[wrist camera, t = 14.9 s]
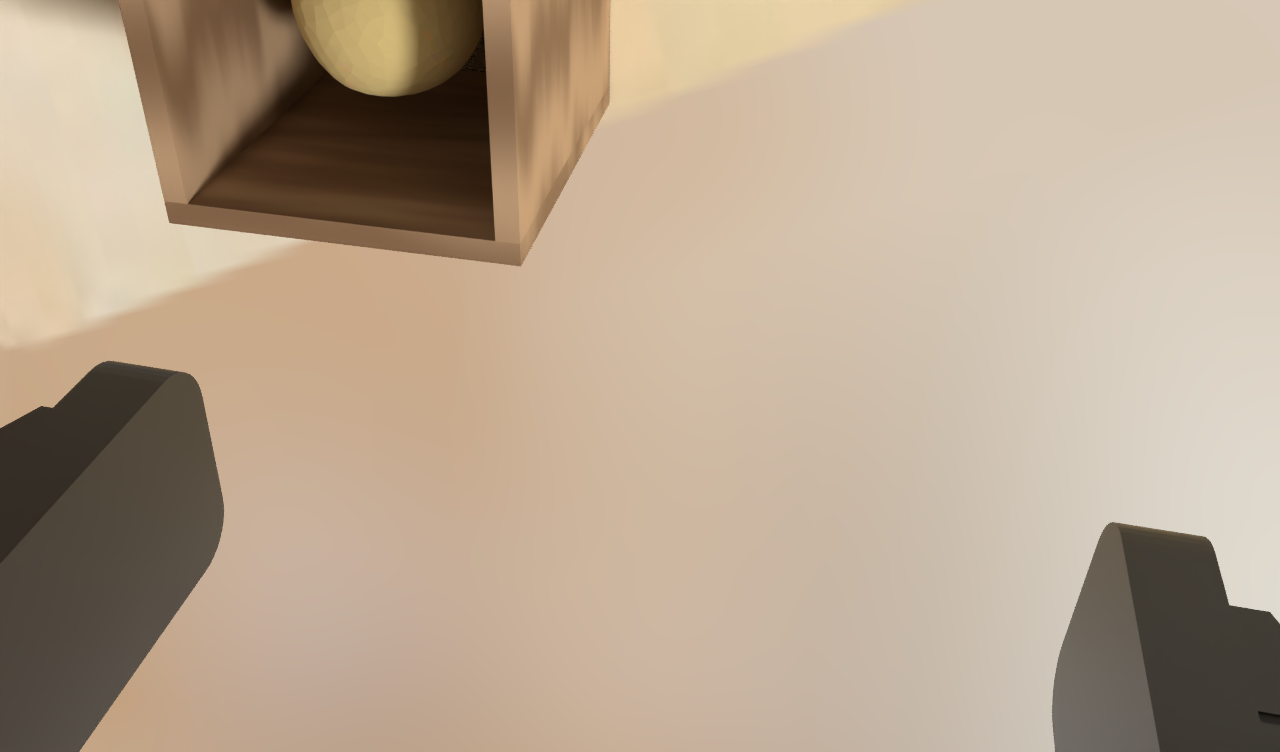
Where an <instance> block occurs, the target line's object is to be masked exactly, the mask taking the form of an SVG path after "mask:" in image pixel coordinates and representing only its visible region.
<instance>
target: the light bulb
mask: <svg viewBox="0 0 1280 752" xmlns="http://www.w3.org/2000/svg"><path fill="white" fill-rule="evenodd" d="M291 3H292V9H293V13H294V16H295V19H296V22H297V26H298V28H299V30H300V33H301V35H302V37H303V39H304V41H305V42H306V44H307V45H308V47H309V49H310V50H311V52H312V53H313V55H314V56H315V58H316V59H317V61H318V62H319V63H320V64H321V65H322V66H323V67H324V68H325V69H326V70H327V71H328V72H329V73H330V75H331V76H332V77H333V78H335V79H336V80H337V81H339V82H340V83H342V84H343V85H344V86H346V87H348V88H350V89H353V90H356V91H359V92H362V93H365V94H369V95H376V96H390V97H398V96H406V95H413V94H417V93H420V92H423V91H427V90H430V89H432V88H434V87H436V86H438V85H440V84H442V83H444V82H445V81H447V80H448V79H449V78H451V77H452V76H453V75H454V74H456V73H457V72H458V71H459V70H460V69H461V68H462V67H463V66H464V65H465V64H466V63H467V62H468V60H469V59H470V57H471V55H472V54H473V52H474V51H475V49H476V47H477V45H478V43H479V41H480V38H481V36H482V33H483V28H484V21H483V2H482V0H291Z"/></svg>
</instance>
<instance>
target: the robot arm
mask: <svg viewBox="0 0 1280 752" xmlns="http://www.w3.org/2000/svg"><path fill="white" fill-rule="evenodd" d="M223 518H224V504H223V497H222V492H221V487H220V482H219V477H218V472H217V467H216V462H215V457H214V452H213V447H212V442H211V437H210V432H209V428H208V422H207V418H206V413H205V407H204V403H203V397H202V393H201V390H200V387H199V385H198V383H197V381H196V380H195V379H194V377H192V376H191V375H190V374H187V373H184V372H178V371H172V370H165V369H159V368H153V367H147V366H140V365H134V364H128V363H121V362H114V361H106V362H102V363H101V364H99V365H97V366H95V367H94V368H93V369H92V370H91V371H90V372H89V373H88V374H87V375H86V376H85V377H84V378H83V379H82V380H81V381H80V382H79V383H78V384H77V385H76V386H75V387H74V388H73V389H72V390H71V391H69V393H67V395H66V396H64V398H63V399H62V400H60V401H59V402H58V404H56V405H55V407H53V408H50V407H43V406H41V407H39V408H37V409H35V410H33V411H32V412H30V413H28V414H26V415H24V416H22V417H20V418H19V419H17V420H15V421H13V422H11V423H9V424H8V425H6V426H4V427H2V428H0V752H79V751H80V749H81V748H82V747H83V745H84V744H85V742H86V741H87V740H88V738H89V737H90V735H91V734H92V732H93V731H94V730H95V728H96V727H97V725H98V724H99V722H100V721H101V720H102V718H103V717H104V715H105V714H106V713H107V711H108V710H109V708H110V707H111V705H112V704H113V702H114V701H115V700H116V698H117V697H118V695H119V694H120V693H121V691H122V690H123V688H124V687H125V685H126V684H127V682H128V681H129V680H130V678H131V677H132V675H133V674H134V673H135V671H136V670H137V668H138V667H139V665H140V664H141V663H142V661H143V660H144V658H145V657H146V655H147V654H148V653H149V651H150V650H151V648H152V647H153V645H154V644H155V643H156V641H157V640H158V638H159V637H160V635H161V634H162V633H163V631H164V630H165V628H166V627H167V625H168V624H169V623H170V621H171V620H172V618H173V617H174V615H175V614H176V613H177V611H178V610H179V608H180V607H181V605H182V604H183V603H184V601H185V600H186V598H187V597H188V595H189V594H190V593H191V591H192V590H193V588H194V587H195V586H196V584H197V583H198V581H199V580H200V578H201V577H202V576H203V574H204V573H205V571H206V570H207V568H208V567H209V565H210V563H211V561H212V559H213V557H214V555H215V552H216V550H217V547H218V544H219V541H220V537H221V532H222V527H223ZM1052 720H1053V733H1054V742H1055V752H1280V624H1279V623H1278V621H1277V620H1276V619H1275V618H1274V617H1273V615H1272V614H1271V613H1270V612H1266V611H1260V610H1254V609H1248V608H1242V607H1236V606H1230V605H1229V603H1228V599H1227V595H1226V592H1225V588H1224V584H1223V580H1222V577H1221V573H1220V570H1219V566H1218V562H1217V558H1216V554H1215V551H1214V548H1213V546H1212V544H1211V542H1210V541H1209V540H1208V539H1207V538H1206V537H1202V536H1196V535H1190V534H1184V533H1177V532H1171V531H1165V530H1159V529H1152V528H1145V527H1140V526H1133V525H1127V524H1121V523H1114V522H1112V523H1109V524H1108V525H1107V526H1106V527H1105V529H1104V530H1103V532H1102V534H1101V536H1100V539H1099V541H1098V544H1097V547H1096V550H1095V553H1094V555H1093V558H1092V561H1091V564H1090V567H1089V570H1088V573H1087V575H1086V578H1085V581H1084V584H1083V587H1082V590H1081V593H1080V596H1079V599H1078V601H1077V604H1076V607H1075V610H1074V613H1073V615H1072V618H1071V621H1070V624H1069V627H1068V630H1067V633H1066V636H1065V639H1064V641H1063V644H1062V647H1061V651H1060V654H1059V658H1058V663H1057V668H1056V674H1055V680H1054V689H1053V706H1052Z"/></svg>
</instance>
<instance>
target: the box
mask: <svg viewBox="0 0 1280 752" xmlns="http://www.w3.org/2000/svg"><path fill="white" fill-rule="evenodd" d="M118 1H119V5H120V9H121V14H122V18H123V22H124V27H125V31H126V36H127V40H128V44H129V49H130V53H131V57H132V62H133V66H134V70H135V75H136V79H137V84H138V88H139V92H140V97H141V101H142V105H143V110H144V114H145V118H146V123H147V127H148V131H149V136H150V140H151V145H152V149H153V153H154V158H155V162H156V166H157V171H158V175H159V179H160V184H161V188H162V193H163V197H164V201H165V206H166V210H167V214H168V219H169V223H174V224H182V225H190V226H198V227H206V228H214V229H223V230H231V231H239V232H247V233H255V234H263V235H271V236H279V237H287V238H296V239H304V240H312V241H320V242H328V243H336V244H344V245H352V246H361V247H369V248H377V249H385V250H393V251H401V252H409V253H417V254H425V255H434V256H442V257H450V258H458V259H467V260H475V261H482V262H490V263H499V264H507V265H515V266H521V265H522V263H523V261H524V260H525V258H526V256H527V254H528V252H529V250H530V249H531V247H532V245H533V243H534V241H535V239H536V238H537V236H538V234H539V232H540V230H541V228H542V226H543V224H544V223H545V221H546V219H547V217H548V215H549V214H550V212H551V210H552V208H553V206H554V204H555V203H556V201H557V199H558V197H559V195H560V193H561V192H562V190H563V188H564V186H565V184H566V182H567V180H568V179H569V177H570V175H571V173H572V171H573V169H574V168H575V166H576V164H577V162H578V160H579V158H580V157H581V155H582V153H583V151H584V149H585V147H586V145H587V144H588V142H589V140H590V138H591V136H592V134H593V133H594V131H595V129H596V127H597V125H598V123H599V122H600V120H601V118H602V116H603V114H604V112H605V111H606V109H607V107H608V105H609V73H610V0H482V2H483V21H484V40H485V58H486V72H478V71H468V70H459V71H458V72H457V73H456V74H454V75H453V76H452V77H451V78H449V79H448V80H447V81H445V82H444V83H442V84H440V85H438V86H436V87H434V88H432V89H430V90H427V91H423V92H420V93H417V94H413V95H406V96H398V97H390V96H376V95H369V94H365V93H362V92H359V91H356V90H353V89H350V88H348V87H346V86H344V85H343V84H342V83H340V82H339V81H337V80H336V79H335V78H333V77H332V76H331V75H330V73H329V72H328V71H327V70H326V69H325V68H324V67H323V66H322V65H321V64H320V63H319V62H318V61H317V59H316V58H315V56H314V55H313V53H312V52H311V50H310V49H309V47H308V45H307V44H306V42H305V41H304V39H303V37H302V35H301V33H300V30H299V28H298V26H297V22H296V19H295V16H294V13H293V9H292V3H291V0H118Z"/></svg>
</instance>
